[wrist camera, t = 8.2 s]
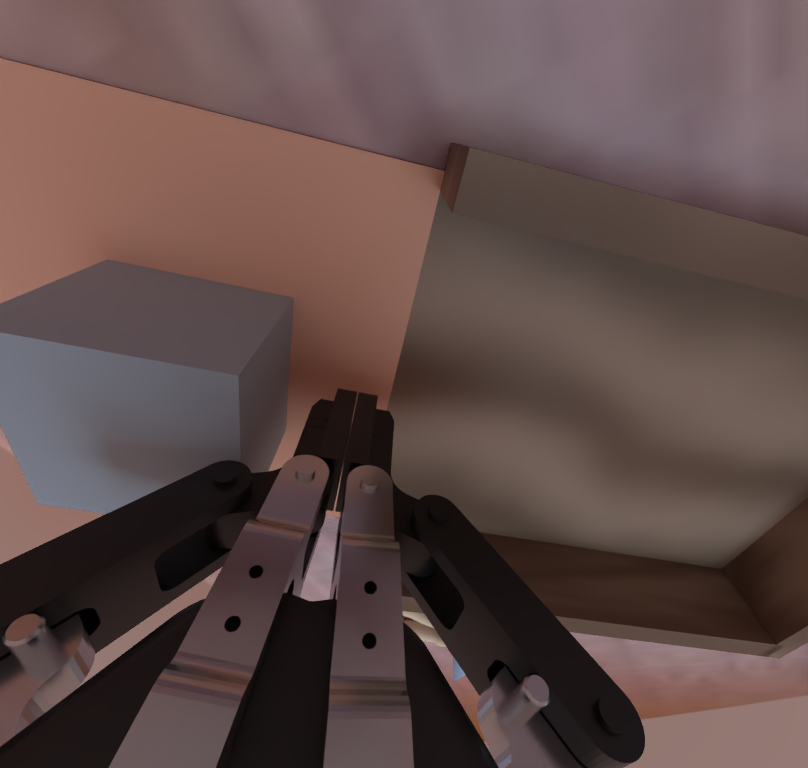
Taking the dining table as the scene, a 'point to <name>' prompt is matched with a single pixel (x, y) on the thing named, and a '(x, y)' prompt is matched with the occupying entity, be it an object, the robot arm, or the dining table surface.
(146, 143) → the terracotta mat
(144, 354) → the slate block
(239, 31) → the dining table surface
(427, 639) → the fairy figurine
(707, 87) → the dining table surface
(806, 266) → the walnut cubby
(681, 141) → the dining table surface
